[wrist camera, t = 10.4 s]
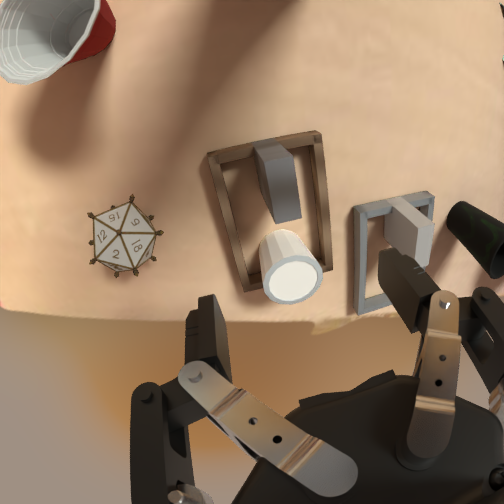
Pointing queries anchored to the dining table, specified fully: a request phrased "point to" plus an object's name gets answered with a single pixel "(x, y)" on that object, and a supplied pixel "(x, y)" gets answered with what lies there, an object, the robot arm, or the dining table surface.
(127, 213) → the game die
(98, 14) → the plastic cup
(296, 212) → the wooden picture frame
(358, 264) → the grey hollow rectangular frame
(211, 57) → the dining table surface
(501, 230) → the cup
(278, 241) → the white cylinder
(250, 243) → the dining table surface
